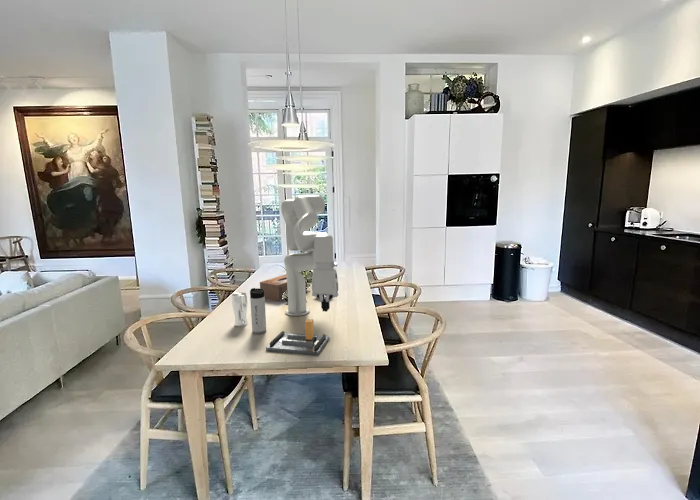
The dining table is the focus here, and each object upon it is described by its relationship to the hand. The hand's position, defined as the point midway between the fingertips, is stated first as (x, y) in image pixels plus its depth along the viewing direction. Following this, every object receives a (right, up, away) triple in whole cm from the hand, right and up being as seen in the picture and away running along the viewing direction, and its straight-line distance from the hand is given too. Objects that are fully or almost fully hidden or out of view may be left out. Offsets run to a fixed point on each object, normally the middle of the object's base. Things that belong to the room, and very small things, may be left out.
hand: (325, 310), depth 147 cm
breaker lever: (-7, -14, +4) cm, 16 cm away
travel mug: (-32, -13, +20) cm, 40 cm away
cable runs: (-12, -14, +5) cm, 19 cm away
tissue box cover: (-31, -3, +79) cm, 85 cm away
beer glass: (-43, -12, +30) cm, 54 cm away
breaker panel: (-12, -15, +6) cm, 20 cm away
